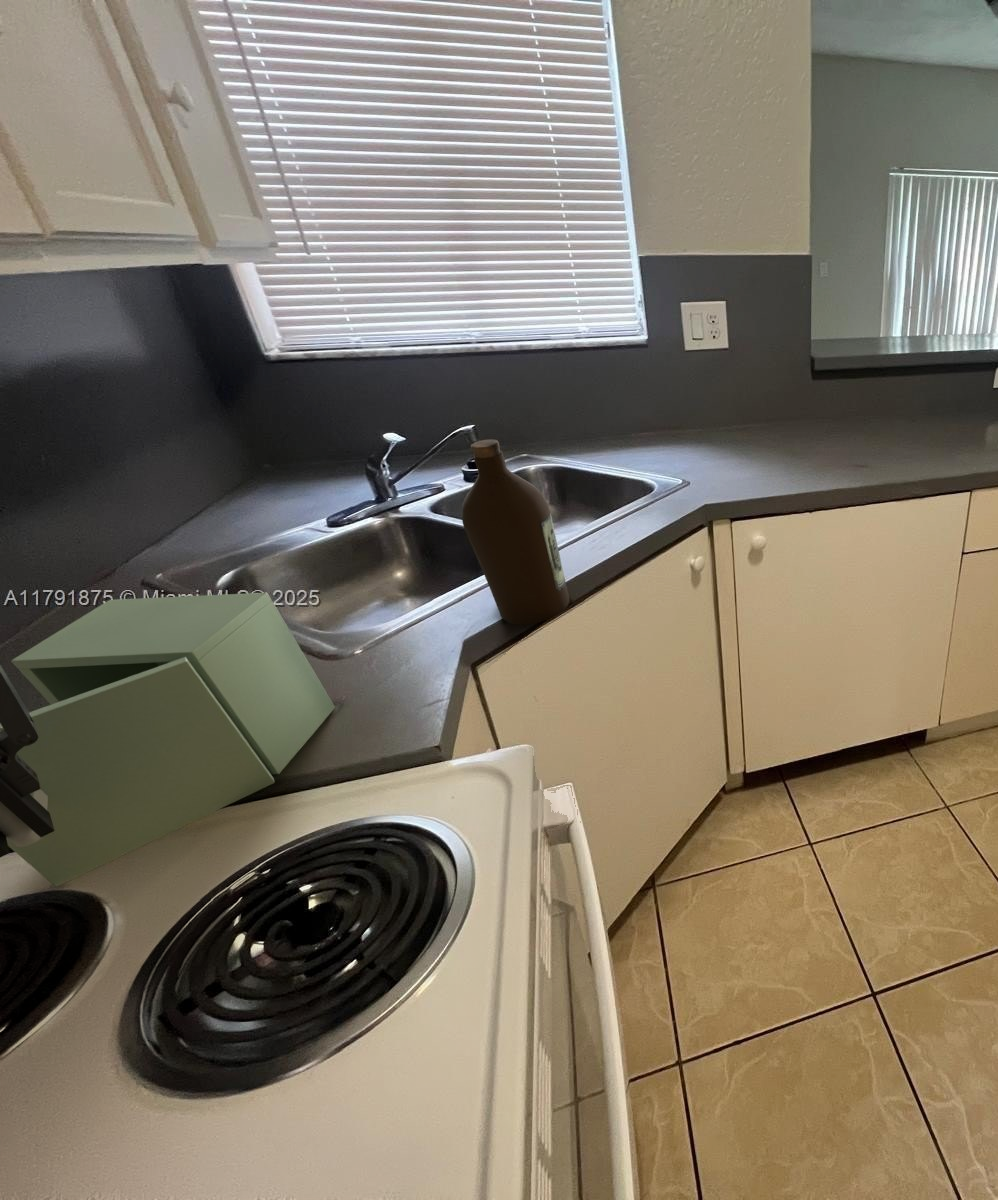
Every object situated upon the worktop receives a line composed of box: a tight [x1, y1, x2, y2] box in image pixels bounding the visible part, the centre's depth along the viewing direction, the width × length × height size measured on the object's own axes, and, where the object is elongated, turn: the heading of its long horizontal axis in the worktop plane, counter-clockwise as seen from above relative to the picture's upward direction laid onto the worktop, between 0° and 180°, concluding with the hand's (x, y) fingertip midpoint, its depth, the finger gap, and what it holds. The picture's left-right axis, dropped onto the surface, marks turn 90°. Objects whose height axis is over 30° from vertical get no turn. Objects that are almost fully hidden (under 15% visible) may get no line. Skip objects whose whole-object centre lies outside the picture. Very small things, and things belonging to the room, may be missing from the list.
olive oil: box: [461, 439, 570, 626], centre depth 84 cm, size 11×11×25 cm
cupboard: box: [10, 592, 336, 776], centre depth 65 cm, size 10×16×17 cm, turn 92°
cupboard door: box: [0, 657, 275, 888], centre depth 54 cm, size 7×16×17 cm, turn 135°
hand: (22, 835), depth 47 cm, fingers closed on cupboard door, 2 cm apart
